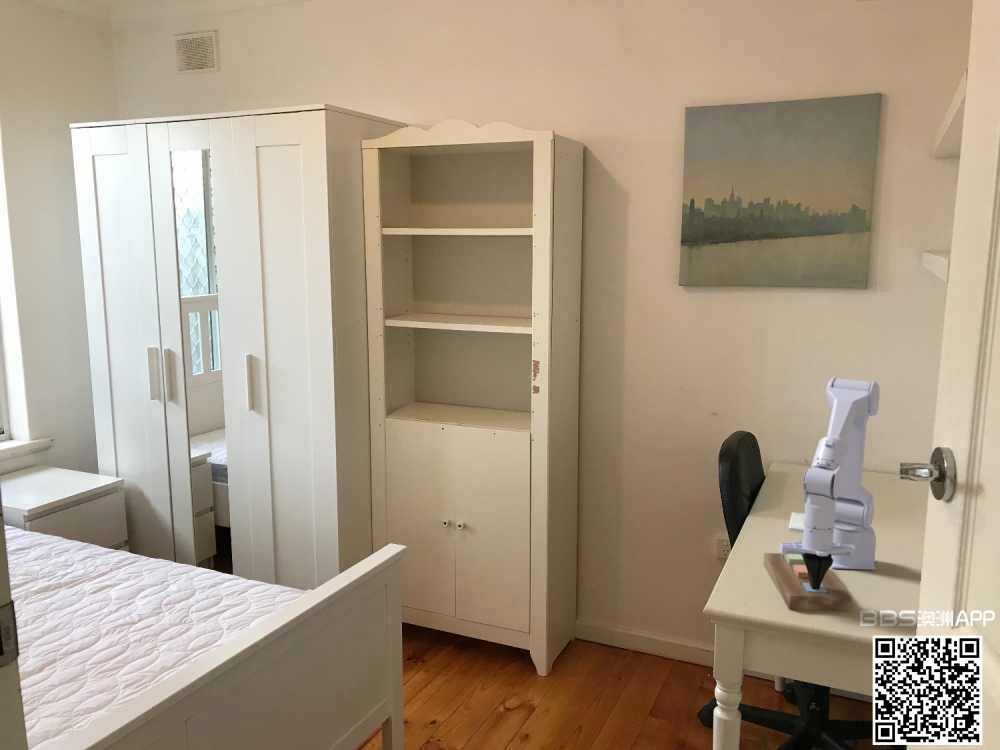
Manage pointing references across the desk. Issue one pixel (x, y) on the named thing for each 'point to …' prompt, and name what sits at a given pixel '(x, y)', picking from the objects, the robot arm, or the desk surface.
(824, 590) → the slate button
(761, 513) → the desk surface
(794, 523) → the hard drive
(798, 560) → the sage button
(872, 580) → the desk surface
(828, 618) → the desk surface
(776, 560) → the button panel
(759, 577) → the desk surface
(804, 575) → the terracotta button
